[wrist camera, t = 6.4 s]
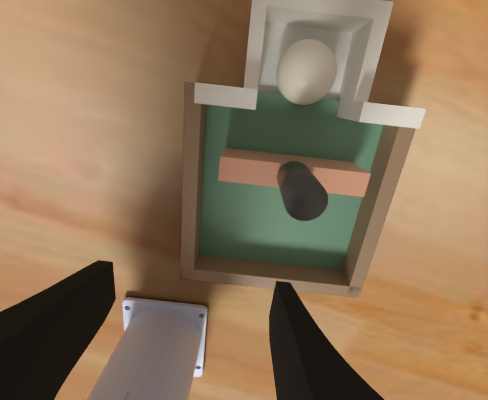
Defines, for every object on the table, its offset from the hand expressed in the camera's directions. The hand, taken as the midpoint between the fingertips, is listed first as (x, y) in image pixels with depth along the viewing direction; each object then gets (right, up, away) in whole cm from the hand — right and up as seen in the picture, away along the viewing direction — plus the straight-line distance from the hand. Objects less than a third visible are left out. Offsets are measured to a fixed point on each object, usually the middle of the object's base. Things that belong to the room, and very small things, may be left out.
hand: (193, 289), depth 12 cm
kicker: (+5, +6, +7) cm, 11 cm away
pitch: (+5, +7, +8) cm, 12 cm away
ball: (+6, +12, +4) cm, 13 cm away
